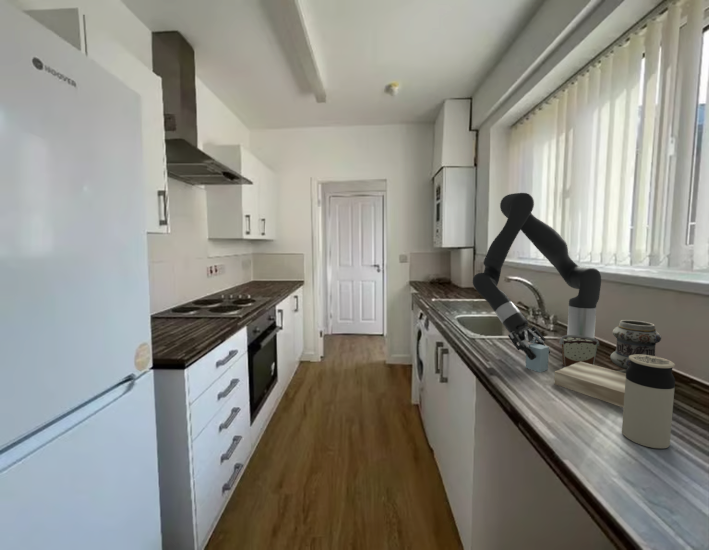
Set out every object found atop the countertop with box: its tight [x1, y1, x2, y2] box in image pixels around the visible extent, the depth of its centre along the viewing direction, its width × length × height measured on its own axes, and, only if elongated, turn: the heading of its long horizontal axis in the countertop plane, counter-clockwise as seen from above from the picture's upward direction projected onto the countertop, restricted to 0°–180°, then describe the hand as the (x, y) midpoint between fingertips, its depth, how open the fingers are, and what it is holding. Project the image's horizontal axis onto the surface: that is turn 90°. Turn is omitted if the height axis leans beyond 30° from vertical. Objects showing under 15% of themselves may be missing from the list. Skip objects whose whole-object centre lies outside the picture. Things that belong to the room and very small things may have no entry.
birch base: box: [553, 361, 626, 409], centre depth 99 cm, size 16×18×4 cm
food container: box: [559, 334, 600, 368], centre depth 119 cm, size 12×6×10 cm, turn 84°
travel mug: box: [621, 354, 676, 449], centre depth 73 cm, size 8×8×18 cm
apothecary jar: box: [610, 319, 662, 373], centre depth 106 cm, size 12×12×18 cm
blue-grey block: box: [524, 343, 550, 373], centre depth 115 cm, size 5×5×8 cm
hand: (541, 356), depth 114 cm, fingers open, 8 cm apart
